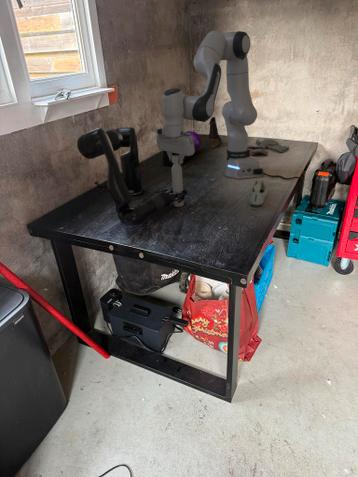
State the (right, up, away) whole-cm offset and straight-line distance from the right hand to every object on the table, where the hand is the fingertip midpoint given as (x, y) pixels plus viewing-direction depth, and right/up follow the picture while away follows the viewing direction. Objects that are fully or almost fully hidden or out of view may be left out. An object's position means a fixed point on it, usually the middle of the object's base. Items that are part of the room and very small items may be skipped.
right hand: (176, 162), depth 148 cm
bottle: (+1, -18, +10) cm, 21 cm away
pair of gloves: (+59, +27, +82) cm, 105 cm away
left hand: (+2, -11, +9) cm, 15 cm away
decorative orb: (+9, +26, +86) cm, 91 cm away
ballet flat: (+40, -14, +13) cm, 44 cm away
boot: (+29, +37, +103) cm, 113 cm away
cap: (0, +2, -1) cm, 2 cm away
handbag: (-1, +16, +69) cm, 71 cm away
